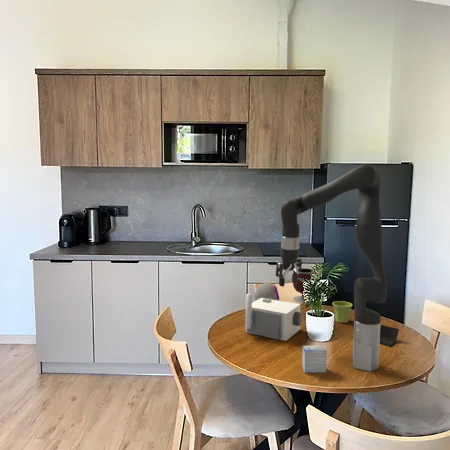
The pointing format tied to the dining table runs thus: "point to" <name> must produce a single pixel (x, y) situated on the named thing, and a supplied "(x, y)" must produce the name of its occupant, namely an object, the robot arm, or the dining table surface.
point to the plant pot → (342, 311)
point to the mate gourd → (299, 285)
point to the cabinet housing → (289, 315)
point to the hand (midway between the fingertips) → (288, 284)
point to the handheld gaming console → (388, 335)
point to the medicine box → (314, 359)
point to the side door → (262, 321)
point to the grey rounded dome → (267, 291)
